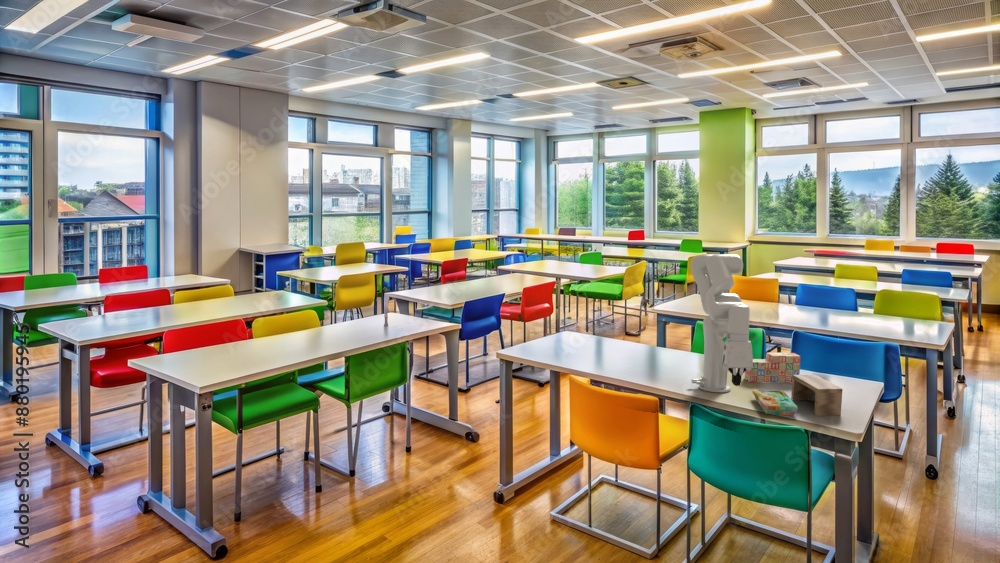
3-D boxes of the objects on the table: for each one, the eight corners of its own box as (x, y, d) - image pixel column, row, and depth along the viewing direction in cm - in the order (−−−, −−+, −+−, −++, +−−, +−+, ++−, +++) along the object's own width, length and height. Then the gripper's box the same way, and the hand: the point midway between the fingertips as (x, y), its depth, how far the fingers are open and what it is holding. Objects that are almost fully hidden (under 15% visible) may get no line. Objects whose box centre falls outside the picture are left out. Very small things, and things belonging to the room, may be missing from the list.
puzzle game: (763, 403, 222) (752, 387, 241) (762, 415, 223) (752, 398, 242) (797, 405, 220) (784, 389, 239) (797, 417, 220) (783, 400, 240)
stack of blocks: (749, 383, 263) (750, 355, 262) (744, 379, 270) (745, 352, 268) (799, 383, 263) (800, 355, 261) (792, 379, 269) (794, 352, 267)
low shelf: (816, 415, 222) (818, 389, 220) (791, 399, 240) (792, 374, 239) (840, 415, 222) (842, 388, 220) (813, 399, 240) (815, 374, 239)
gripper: (721, 339, 223) (720, 387, 225) (762, 339, 224) (760, 387, 225) (714, 335, 231) (713, 382, 233) (753, 335, 231) (751, 382, 233)
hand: (736, 384), depth 229 cm, fingers closed
